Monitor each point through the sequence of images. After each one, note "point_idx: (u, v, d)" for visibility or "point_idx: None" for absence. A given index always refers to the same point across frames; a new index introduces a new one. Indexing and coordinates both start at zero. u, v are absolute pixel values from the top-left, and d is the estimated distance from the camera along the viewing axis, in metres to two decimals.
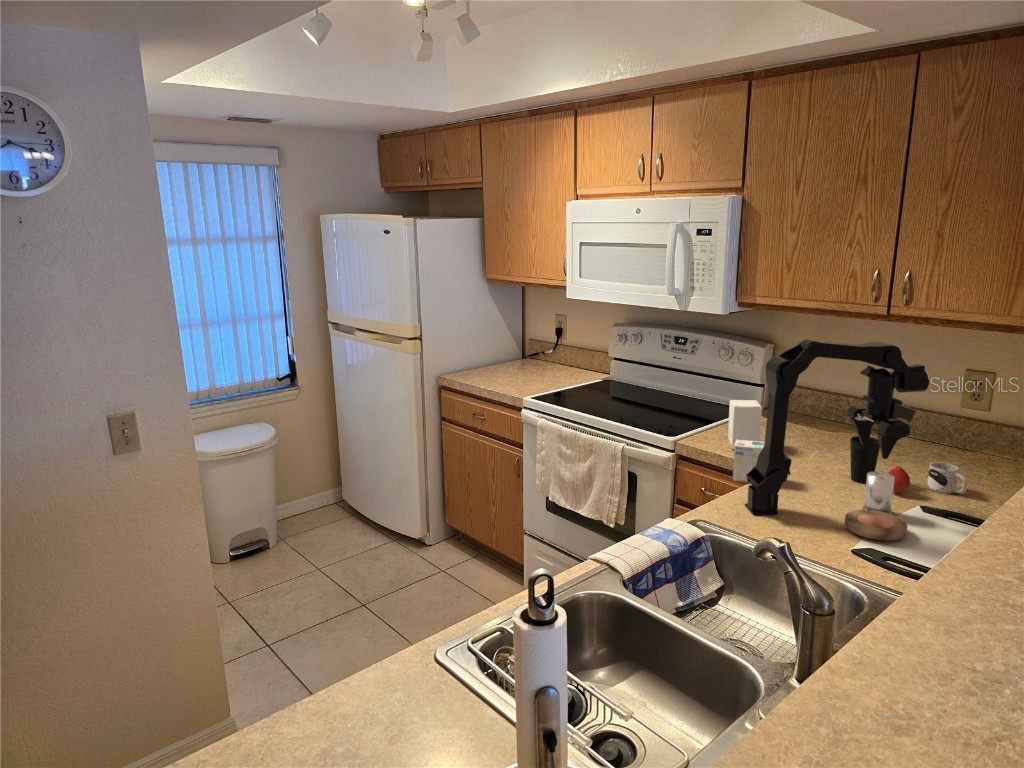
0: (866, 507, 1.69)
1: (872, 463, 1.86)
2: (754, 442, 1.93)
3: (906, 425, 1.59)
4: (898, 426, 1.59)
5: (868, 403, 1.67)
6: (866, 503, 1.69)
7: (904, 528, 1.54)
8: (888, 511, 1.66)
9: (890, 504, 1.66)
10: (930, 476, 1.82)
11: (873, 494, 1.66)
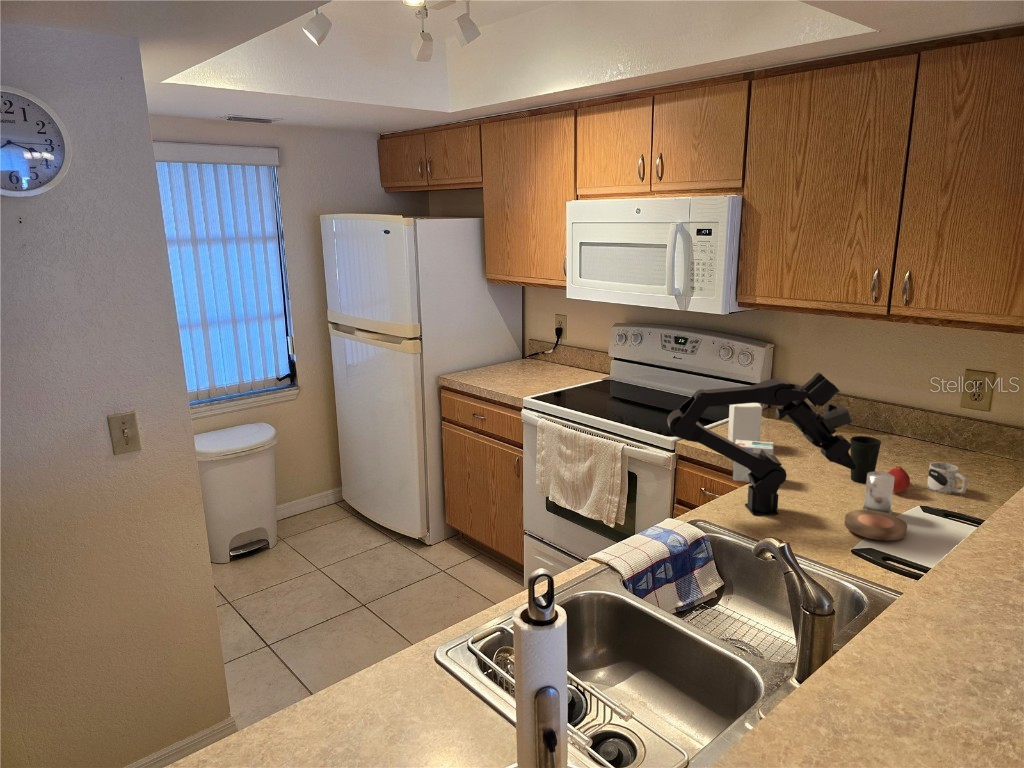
0: (866, 507, 1.69)
1: (872, 463, 1.86)
2: (754, 442, 1.93)
3: (840, 441, 1.57)
4: (834, 447, 1.58)
5: (803, 433, 1.67)
6: (866, 503, 1.69)
7: (904, 528, 1.54)
8: (888, 511, 1.66)
9: (890, 504, 1.66)
10: (930, 476, 1.82)
11: (873, 494, 1.66)
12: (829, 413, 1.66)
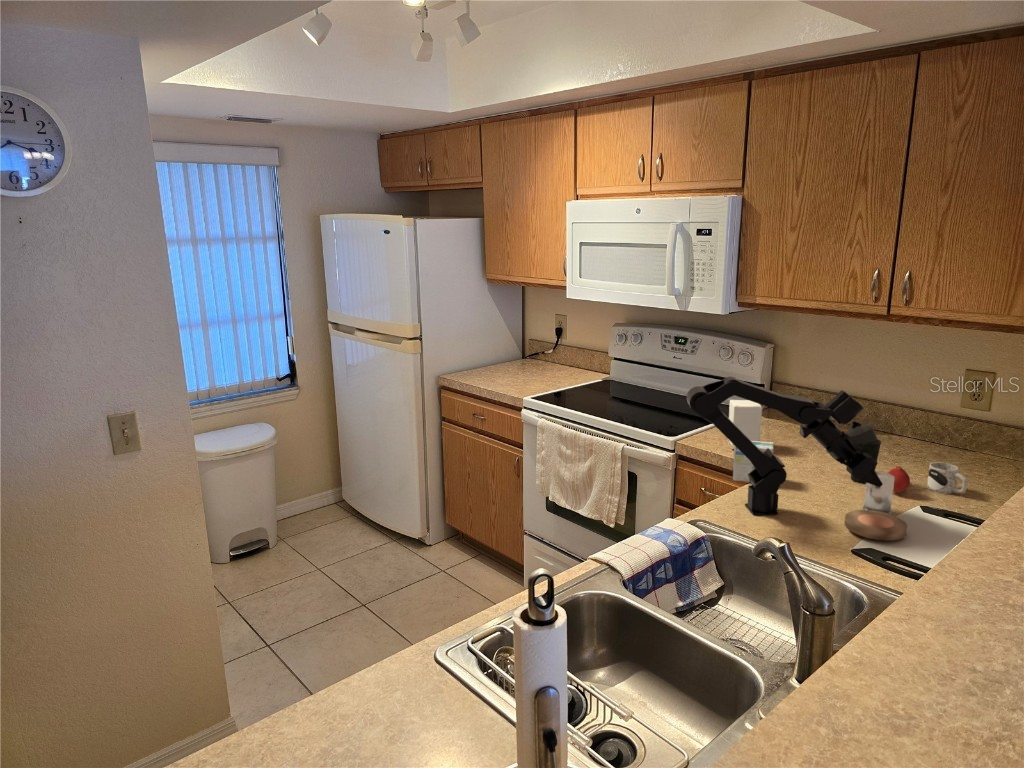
0: (866, 507, 1.69)
1: None
2: (754, 442, 1.93)
3: (866, 460, 1.58)
4: (860, 466, 1.58)
5: (828, 451, 1.67)
6: (866, 503, 1.69)
7: (904, 528, 1.54)
8: (888, 511, 1.66)
9: (890, 504, 1.66)
10: (930, 476, 1.82)
11: (873, 494, 1.66)
12: (853, 430, 1.66)
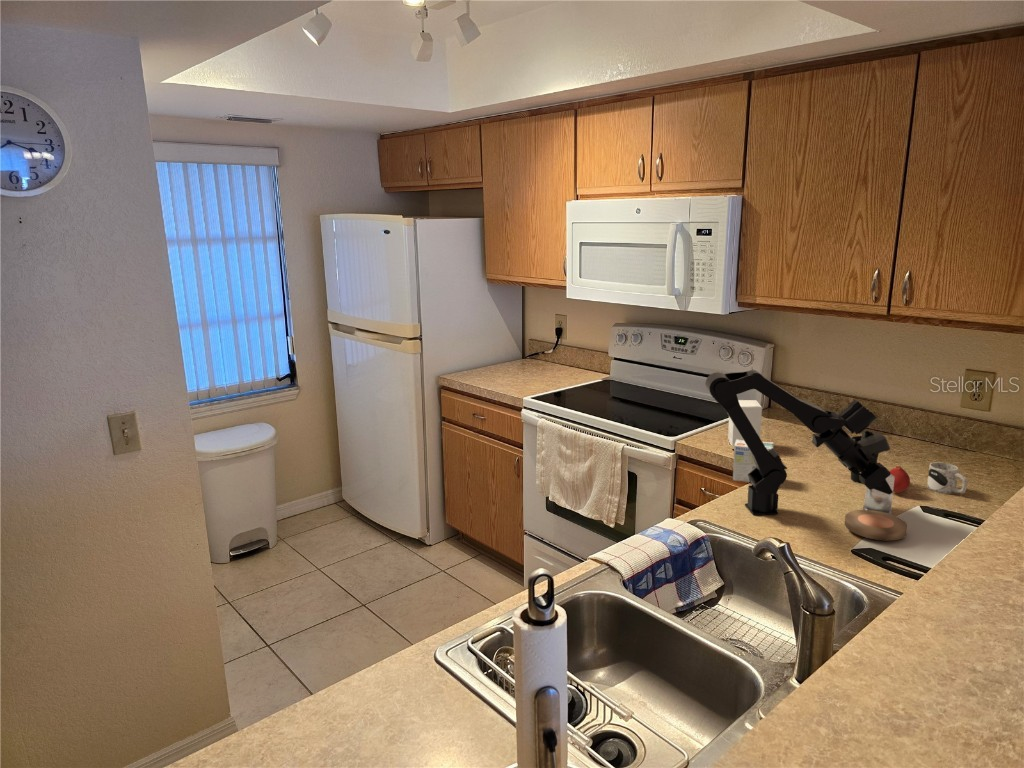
0: (866, 507, 1.69)
1: (872, 463, 1.86)
2: None
3: (879, 470, 1.58)
4: (873, 476, 1.58)
5: None
6: (866, 503, 1.69)
7: (904, 528, 1.54)
8: (888, 511, 1.66)
9: (890, 504, 1.66)
10: (930, 476, 1.82)
11: (873, 494, 1.66)
12: (866, 440, 1.66)
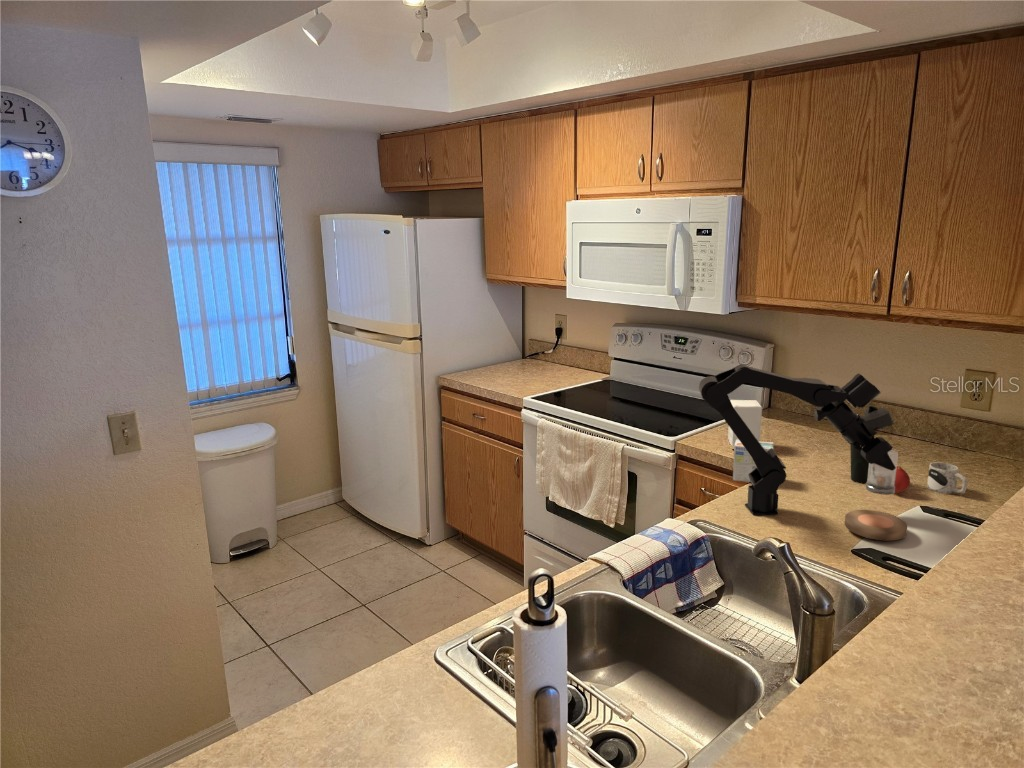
0: (869, 483, 1.66)
1: None
2: None
3: (880, 444, 1.55)
4: (874, 450, 1.56)
5: None
6: (869, 479, 1.66)
7: (904, 528, 1.54)
8: (891, 487, 1.64)
9: (893, 480, 1.63)
10: (930, 476, 1.82)
11: (876, 470, 1.64)
12: (869, 415, 1.64)
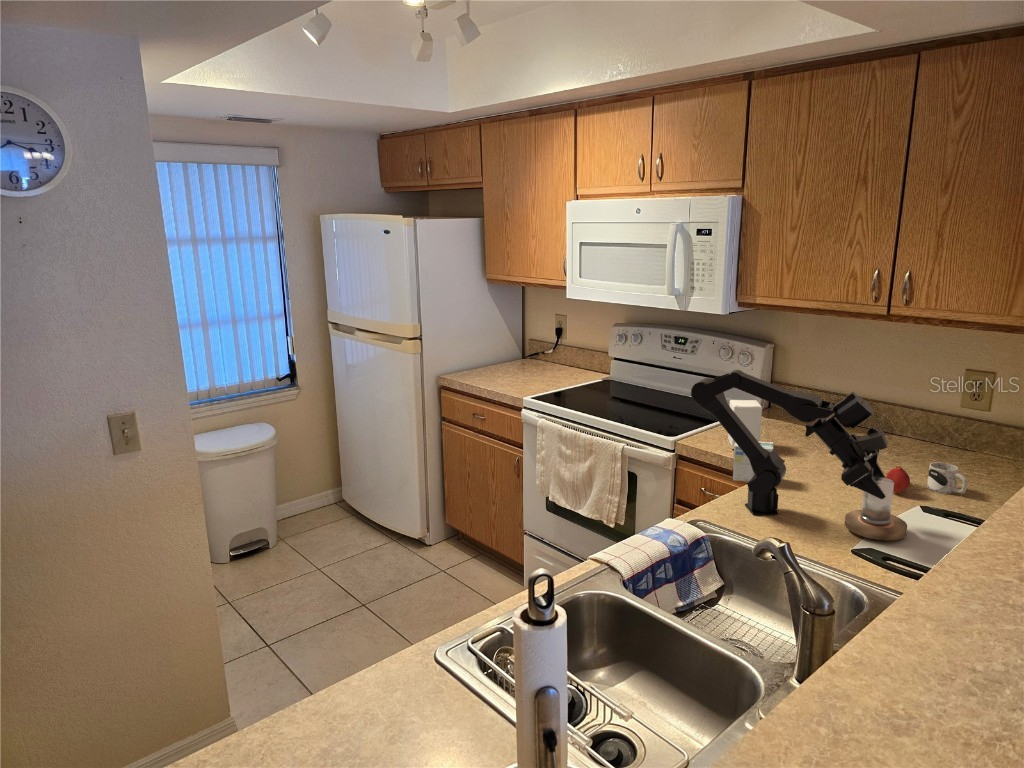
0: (861, 512, 1.59)
1: None
2: None
3: (856, 466, 1.50)
4: (849, 471, 1.51)
5: None
6: (862, 508, 1.59)
7: (904, 528, 1.54)
8: (882, 519, 1.55)
9: (885, 512, 1.55)
10: (930, 476, 1.82)
11: (866, 499, 1.56)
12: (865, 436, 1.56)
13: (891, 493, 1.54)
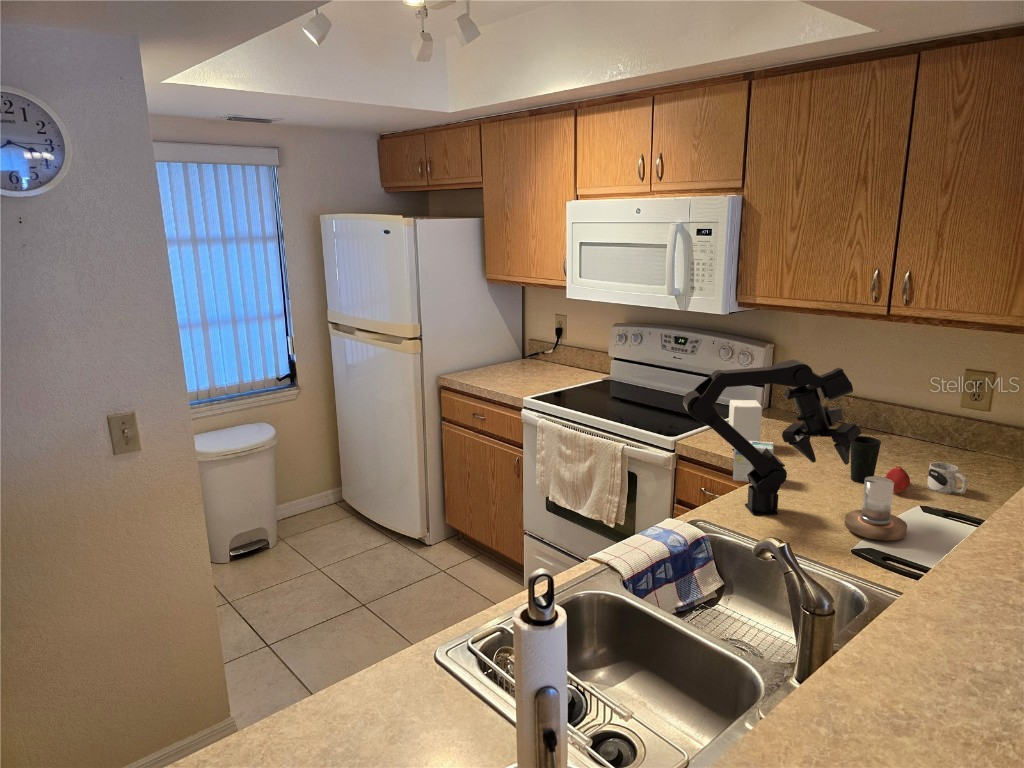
0: (861, 512, 1.59)
1: (872, 463, 1.86)
2: (754, 442, 1.93)
3: (855, 425, 1.60)
4: (851, 430, 1.59)
5: (807, 422, 1.65)
6: (862, 508, 1.59)
7: (904, 528, 1.54)
8: (882, 519, 1.55)
9: (885, 512, 1.55)
10: (930, 476, 1.82)
11: (866, 499, 1.56)
12: None
13: (891, 493, 1.54)
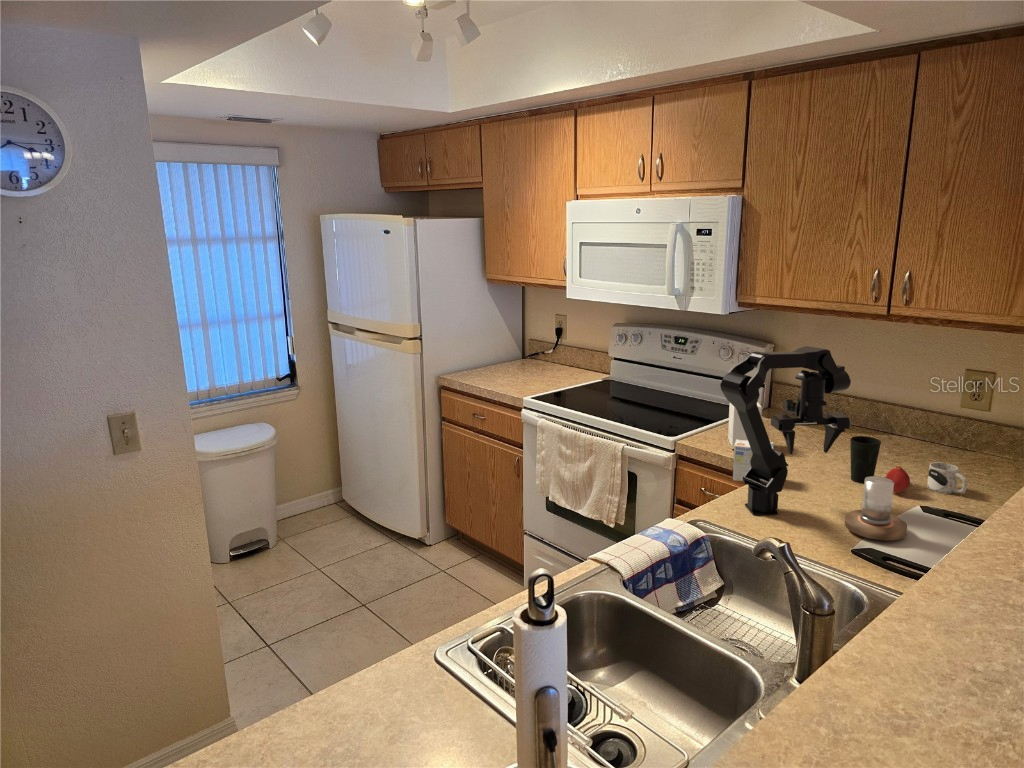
0: (861, 512, 1.59)
1: (872, 463, 1.86)
2: None
3: (841, 414, 1.75)
4: None
5: (817, 407, 1.70)
6: (862, 508, 1.59)
7: (904, 528, 1.54)
8: (882, 519, 1.55)
9: (885, 512, 1.55)
10: (930, 476, 1.82)
11: (866, 499, 1.56)
12: None
13: (891, 493, 1.54)
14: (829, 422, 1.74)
